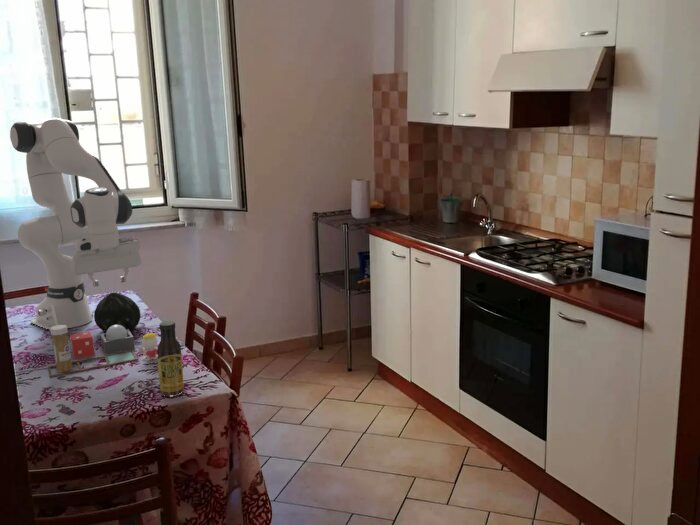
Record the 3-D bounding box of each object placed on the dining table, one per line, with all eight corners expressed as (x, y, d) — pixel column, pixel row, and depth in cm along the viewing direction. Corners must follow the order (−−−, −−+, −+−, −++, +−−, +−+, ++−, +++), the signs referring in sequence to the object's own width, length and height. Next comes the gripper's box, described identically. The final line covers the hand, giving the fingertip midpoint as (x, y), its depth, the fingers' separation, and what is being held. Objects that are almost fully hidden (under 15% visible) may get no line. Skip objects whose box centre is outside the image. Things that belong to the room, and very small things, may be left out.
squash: (130, 304, 253) (101, 281, 242) (155, 313, 244) (127, 289, 233) (106, 338, 247) (76, 315, 237) (131, 347, 238) (101, 324, 228)
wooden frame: (49, 377, 203) (49, 376, 203) (47, 367, 211) (47, 366, 211) (138, 360, 214) (138, 358, 214) (133, 351, 221) (132, 349, 221)
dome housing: (106, 354, 220) (104, 342, 219) (102, 345, 228) (100, 334, 227) (134, 348, 224) (133, 336, 223) (129, 340, 231) (128, 329, 231)
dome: (103, 346, 224) (100, 327, 223) (118, 339, 230) (115, 320, 228) (117, 348, 221) (115, 329, 220) (132, 342, 227) (130, 323, 225)
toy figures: (178, 352, 219) (175, 326, 217) (180, 357, 215) (177, 331, 213) (138, 359, 215) (135, 333, 213) (140, 364, 211) (136, 337, 209)
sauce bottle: (162, 400, 184) (154, 328, 180) (158, 391, 190) (150, 321, 185) (187, 395, 187) (180, 324, 182) (183, 386, 193) (175, 317, 188)
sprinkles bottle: (68, 372, 207) (62, 329, 203) (53, 372, 207) (47, 329, 204) (75, 366, 211) (69, 324, 208) (61, 366, 211) (54, 324, 208)
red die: (74, 358, 217) (72, 340, 216) (72, 352, 223) (69, 334, 221) (95, 354, 220) (92, 336, 218) (92, 349, 225) (90, 331, 224)
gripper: (136, 234, 225) (141, 276, 228) (68, 243, 216) (74, 286, 219) (140, 238, 219) (145, 280, 222) (70, 247, 210) (77, 291, 214)
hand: (109, 283), depth 221 cm, fingers open, 7 cm apart
